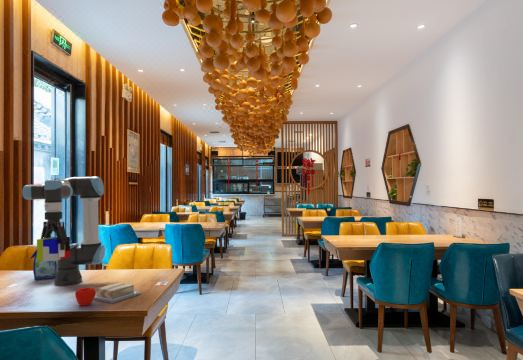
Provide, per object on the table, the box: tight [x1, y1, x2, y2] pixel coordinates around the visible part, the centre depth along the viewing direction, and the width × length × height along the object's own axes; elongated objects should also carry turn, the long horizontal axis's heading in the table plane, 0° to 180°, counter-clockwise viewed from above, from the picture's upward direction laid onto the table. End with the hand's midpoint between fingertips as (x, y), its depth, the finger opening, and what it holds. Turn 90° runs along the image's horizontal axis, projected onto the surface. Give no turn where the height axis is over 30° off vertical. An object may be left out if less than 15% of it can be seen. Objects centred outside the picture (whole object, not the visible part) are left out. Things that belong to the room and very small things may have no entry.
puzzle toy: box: [36, 236, 71, 261], centre depth 183 cm, size 10×10×10 cm
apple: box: [74, 287, 97, 307], centre depth 183 cm, size 9×9×8 cm
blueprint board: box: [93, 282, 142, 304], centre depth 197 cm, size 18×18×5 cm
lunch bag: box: [30, 235, 58, 281], centre depth 250 cm, size 22×17×26 cm
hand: (54, 256), depth 183 cm, fingers closed on puzzle toy, 12 cm apart
